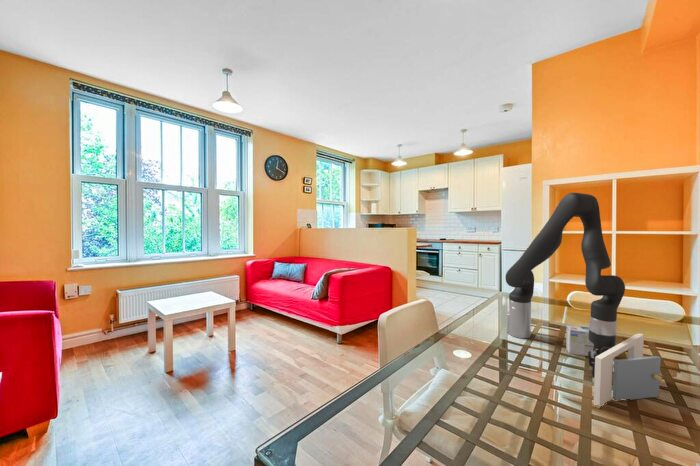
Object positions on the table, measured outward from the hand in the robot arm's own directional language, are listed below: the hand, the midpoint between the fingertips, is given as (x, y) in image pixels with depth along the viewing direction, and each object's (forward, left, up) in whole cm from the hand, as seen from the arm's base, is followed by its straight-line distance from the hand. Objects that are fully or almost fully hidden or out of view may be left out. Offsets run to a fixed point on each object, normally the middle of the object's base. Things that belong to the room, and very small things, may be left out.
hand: (600, 374), depth 105 cm
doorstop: (+5, 0, -1) cm, 5 cm away
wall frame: (+7, -4, -1) cm, 8 cm away
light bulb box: (-12, +15, -1) cm, 19 cm away
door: (+12, -5, -1) cm, 13 cm away
